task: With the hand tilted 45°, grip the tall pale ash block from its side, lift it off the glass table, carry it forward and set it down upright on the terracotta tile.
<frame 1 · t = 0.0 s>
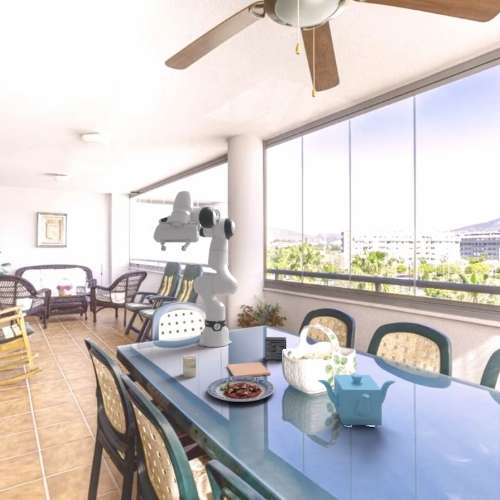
hand: (173, 250, 167), 54 cm above the table, tool tilted 30°, fingers open, 8 cm apart
ceramic plate: (241, 393, 150), on the table
small box: (275, 359, 194), on the table
terracotta tile: (247, 370, 176), on the table
ash block: (189, 375, 170), on the table
teakettle: (357, 422, 125), on the table
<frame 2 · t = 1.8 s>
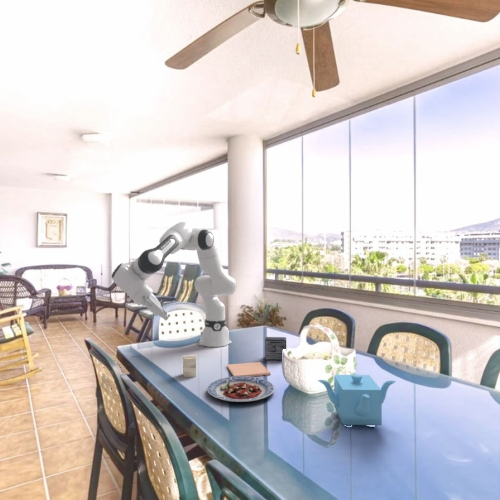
hand: (166, 317, 170), 25 cm above the table, tool tilted 45°, fingers open, 8 cm apart
nothing on the table moved.
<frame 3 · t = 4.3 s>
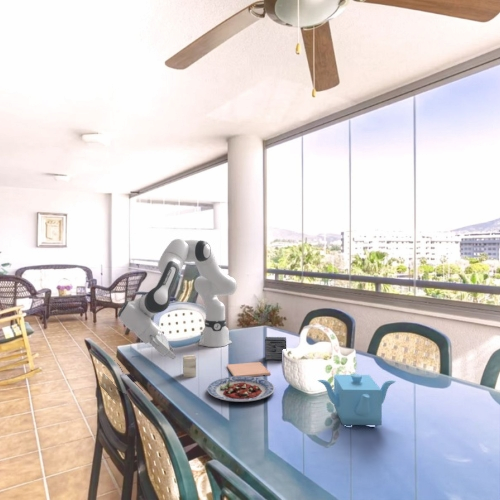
hand: (173, 354, 168), 9 cm above the table, tool tilted 45°, fingers open, 8 cm apart
nothing on the table moved.
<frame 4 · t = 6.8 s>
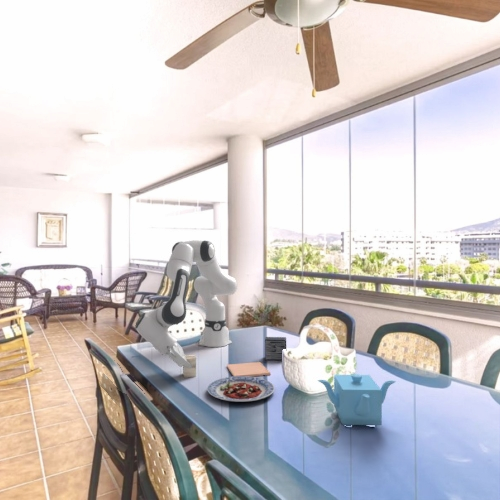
hand: (189, 365, 170), 4 cm above the table, tool tilted 45°, fingers closed on ash block, 5 cm apart
ash block: (189, 375, 170), on the table, touching gripper
everything else where it was.
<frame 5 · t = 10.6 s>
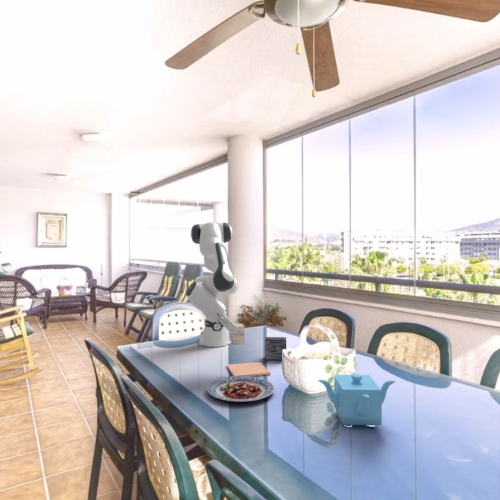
hand: (237, 333, 174), 17 cm above the table, tool tilted 45°, fingers closed on ash block, 5 cm apart
ash block: (237, 343, 175), point 13 cm above the table, touching gripper
everything else where it was.
when the fingers open (6 cm above the table, at t = 14.2 s): ash block stays where it is, resting on terracotta tile.
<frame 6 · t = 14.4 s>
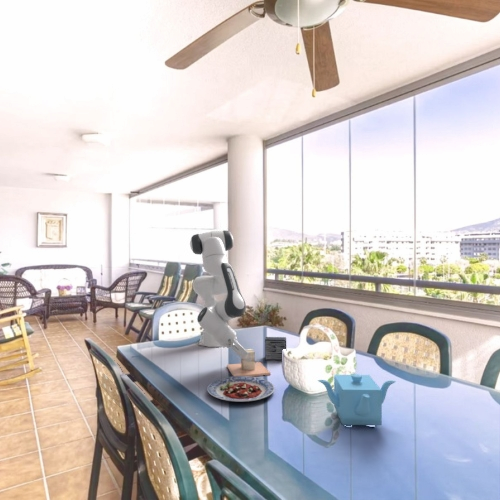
hand: (248, 357, 176), 6 cm above the table, tool tilted 45°, fingers open, 7 cm apart
ash block: (247, 368, 176), point 1 cm above the table, touching terracotta tile
everything else where it was.
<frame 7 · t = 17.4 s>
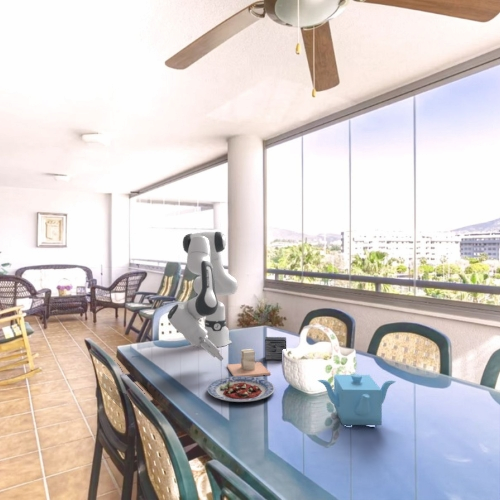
hand: (219, 357, 173), 7 cm above the table, tool tilted 45°, fingers open, 8 cm apart
nothing on the table moved.
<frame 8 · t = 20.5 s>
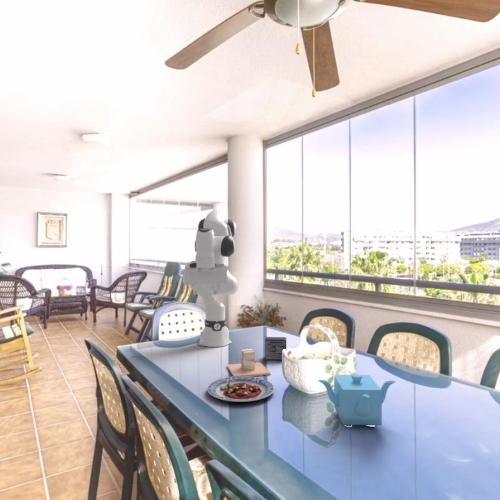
hand: (205, 294, 178), 34 cm above the table, tool pointing down, fingers open, 8 cm apart
nothing on the table moved.
at the end: ash block inside the target area on the terracotta tile (0.1 cm from its centre), point 1.0 cm above the terracotta tile's base; ash block tilted 0°; the gripper is holding nothing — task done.
